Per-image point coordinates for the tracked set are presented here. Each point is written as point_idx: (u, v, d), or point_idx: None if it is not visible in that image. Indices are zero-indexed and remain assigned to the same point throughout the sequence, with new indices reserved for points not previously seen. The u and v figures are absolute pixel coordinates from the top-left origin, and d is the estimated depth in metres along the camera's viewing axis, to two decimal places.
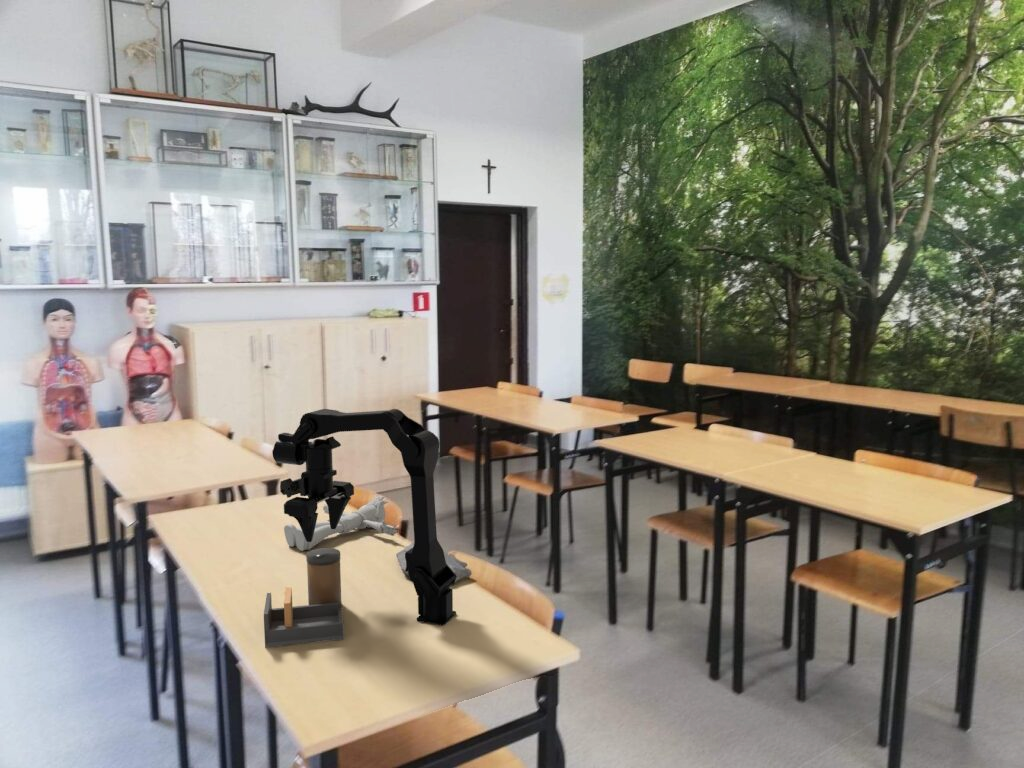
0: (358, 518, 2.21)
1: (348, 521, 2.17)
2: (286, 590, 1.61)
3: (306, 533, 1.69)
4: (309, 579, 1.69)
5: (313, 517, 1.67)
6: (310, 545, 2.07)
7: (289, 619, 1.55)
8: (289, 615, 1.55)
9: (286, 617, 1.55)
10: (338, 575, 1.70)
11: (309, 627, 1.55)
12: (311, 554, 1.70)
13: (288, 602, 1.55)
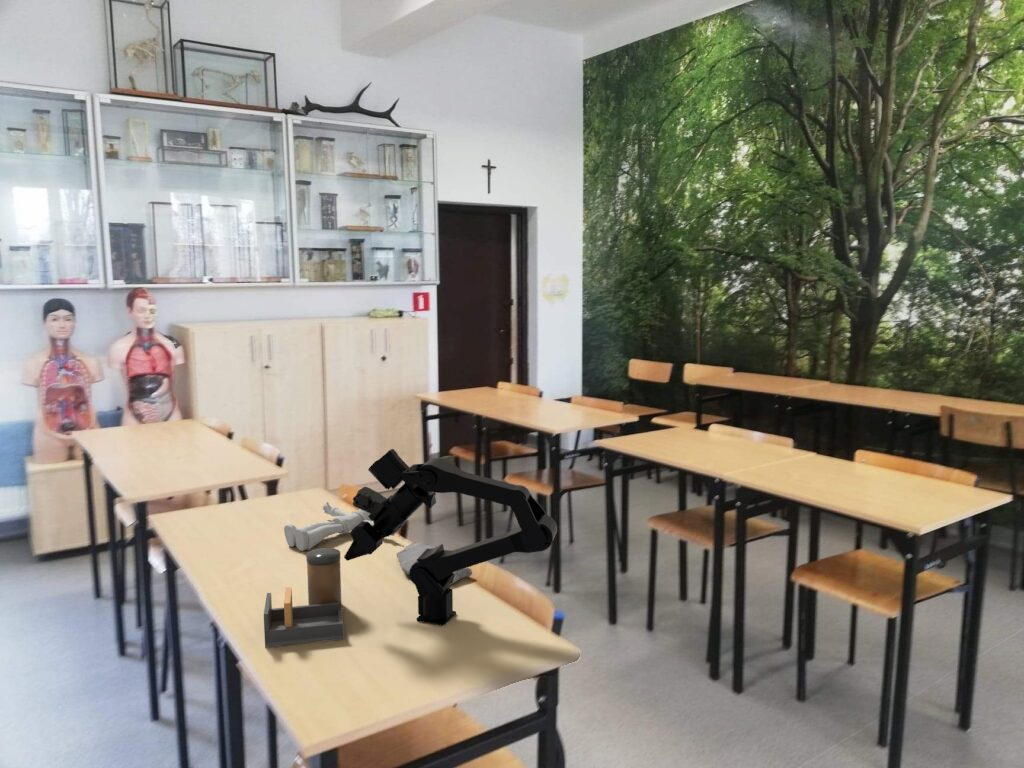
0: (358, 518, 2.21)
1: (348, 521, 2.17)
2: (286, 590, 1.61)
3: (350, 553, 1.63)
4: (309, 579, 1.69)
5: None
6: (310, 545, 2.07)
7: (289, 619, 1.55)
8: (289, 615, 1.55)
9: (286, 617, 1.55)
10: (338, 575, 1.70)
11: (309, 627, 1.55)
12: (311, 554, 1.70)
13: (288, 602, 1.55)
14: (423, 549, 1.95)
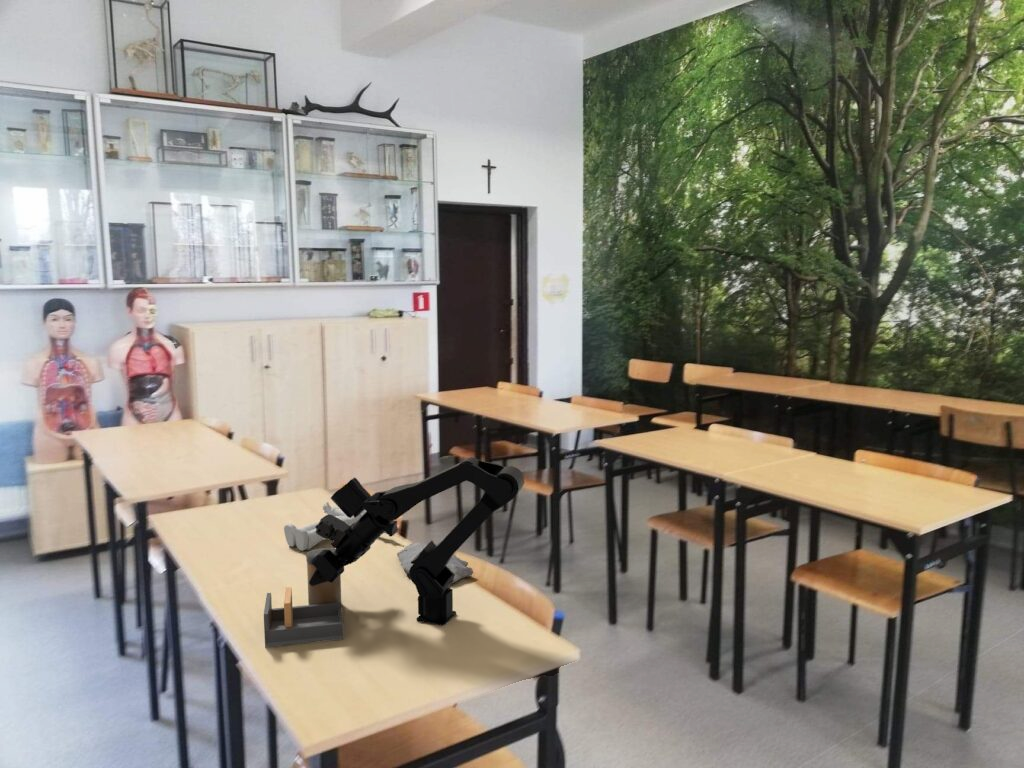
0: (358, 518, 2.21)
1: (348, 521, 2.18)
2: (286, 590, 1.61)
3: (315, 579, 1.66)
4: (309, 579, 1.69)
5: None
6: (310, 545, 2.07)
7: (289, 619, 1.55)
8: (289, 615, 1.55)
9: (286, 617, 1.55)
10: None
11: (309, 627, 1.55)
12: (311, 554, 1.70)
13: (288, 602, 1.55)
14: None
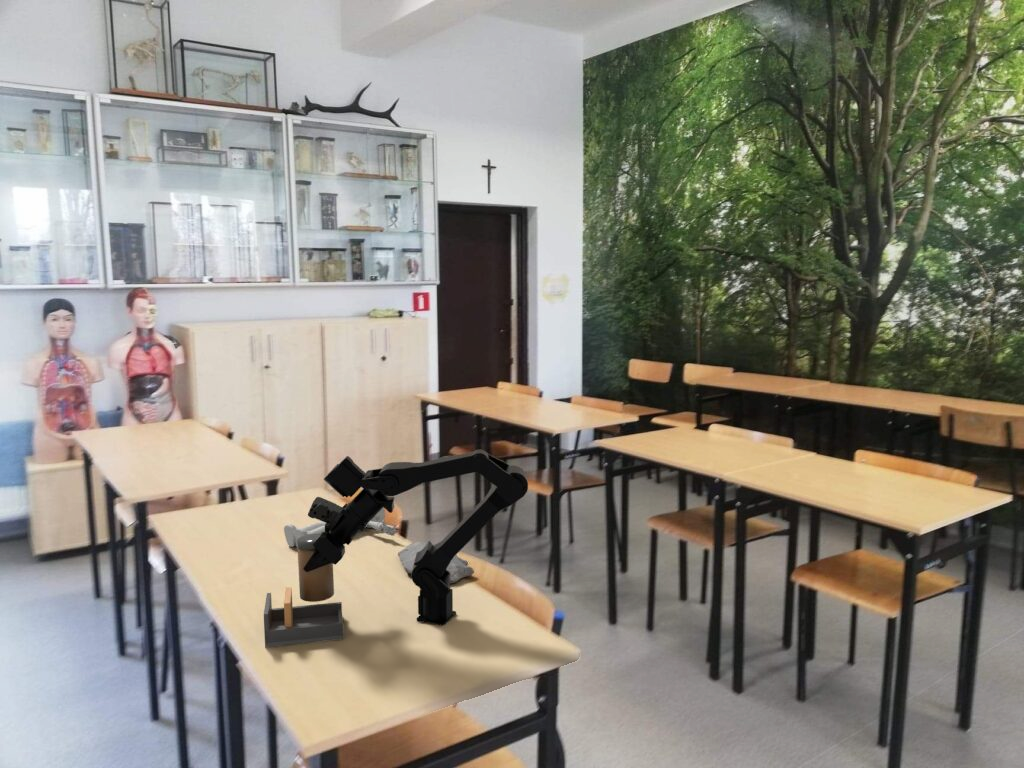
0: None
1: None
2: (286, 590, 1.61)
3: (311, 564, 1.60)
4: (302, 566, 1.61)
5: None
6: None
7: (289, 619, 1.55)
8: (289, 615, 1.55)
9: (286, 617, 1.55)
10: None
11: (309, 627, 1.55)
12: (301, 540, 1.63)
13: (288, 602, 1.55)
14: None
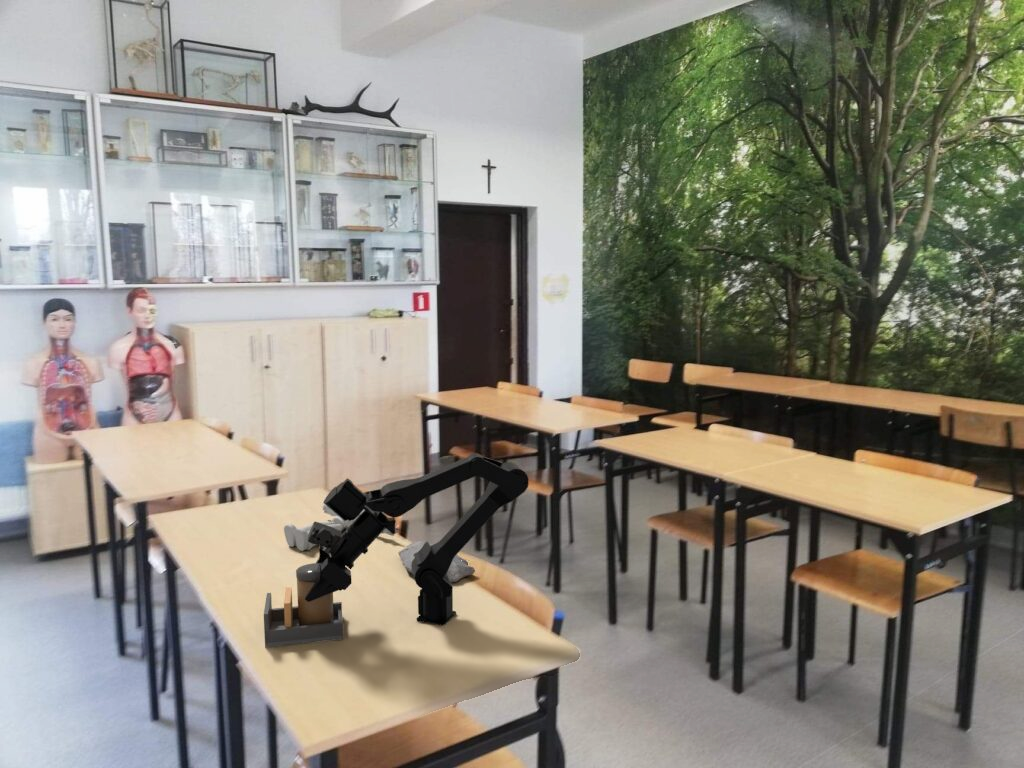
0: None
1: (348, 521, 2.18)
2: (286, 590, 1.61)
3: (314, 593, 1.54)
4: (304, 599, 1.56)
5: None
6: (310, 545, 2.07)
7: (289, 619, 1.55)
8: (289, 615, 1.55)
9: (286, 617, 1.55)
10: None
11: (309, 627, 1.55)
12: (301, 572, 1.57)
13: (288, 602, 1.55)
14: None
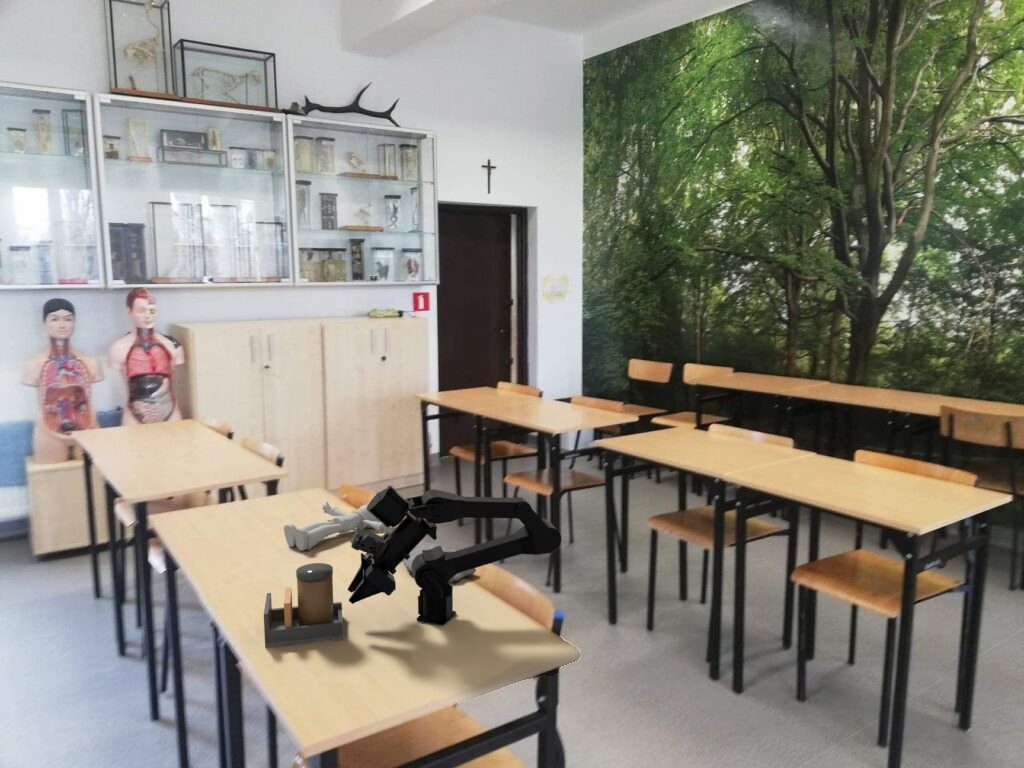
0: (358, 518, 2.21)
1: (348, 521, 2.18)
2: (286, 590, 1.61)
3: (357, 595, 1.58)
4: (304, 599, 1.56)
5: None
6: (310, 545, 2.07)
7: (289, 619, 1.55)
8: (289, 615, 1.55)
9: (286, 617, 1.55)
10: (332, 589, 1.60)
11: (309, 627, 1.55)
12: (301, 572, 1.58)
13: (288, 602, 1.55)
14: (426, 547, 1.97)
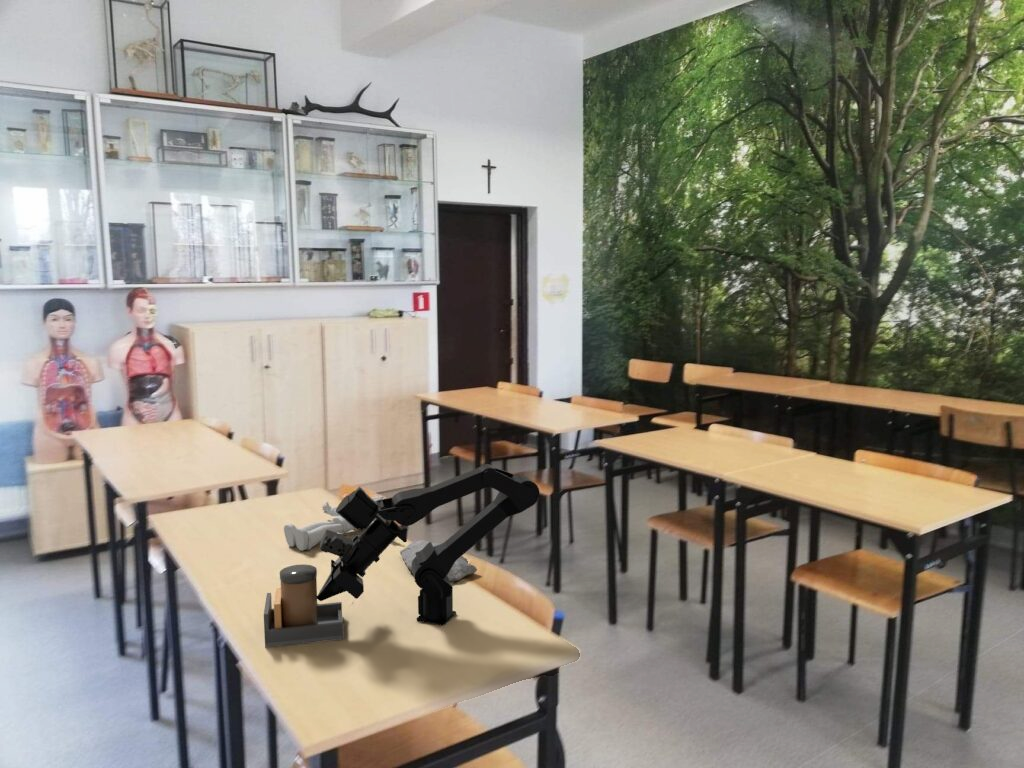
0: None
1: None
2: (276, 591, 1.60)
3: (325, 593, 1.59)
4: (288, 600, 1.56)
5: None
6: (310, 545, 2.07)
7: (279, 620, 1.55)
8: (279, 616, 1.54)
9: (276, 618, 1.54)
10: (316, 591, 1.59)
11: (309, 627, 1.55)
12: (285, 573, 1.57)
13: (278, 603, 1.54)
14: None
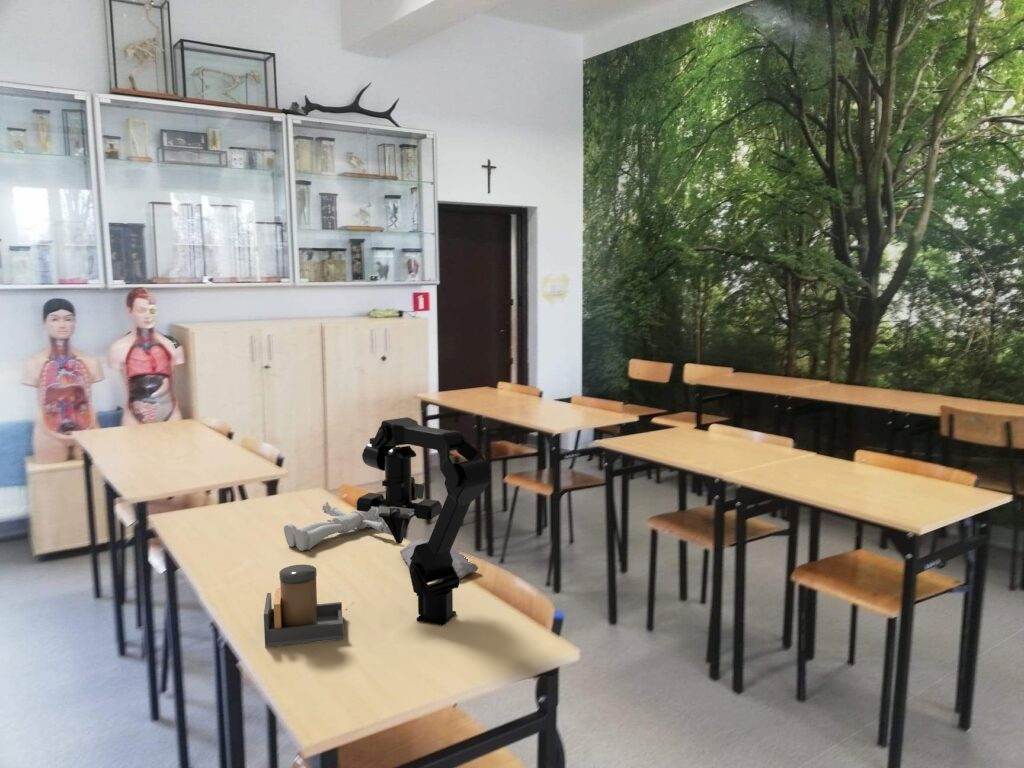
0: (358, 518, 2.21)
1: (348, 521, 2.18)
2: (276, 591, 1.60)
3: None
4: (287, 600, 1.56)
5: (383, 517, 1.72)
6: (310, 545, 2.07)
7: (279, 620, 1.54)
8: (279, 616, 1.54)
9: (276, 618, 1.54)
10: (316, 591, 1.59)
11: (309, 627, 1.55)
12: (285, 573, 1.57)
13: (278, 603, 1.54)
14: None
